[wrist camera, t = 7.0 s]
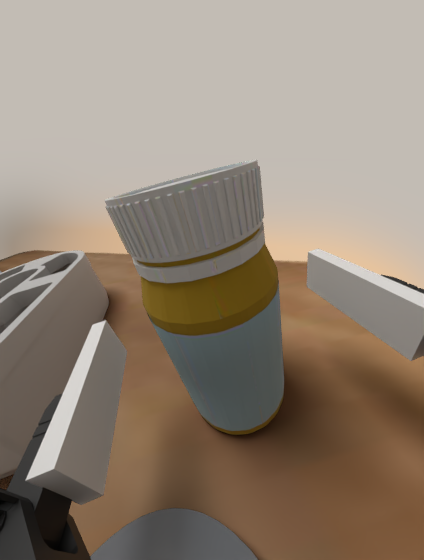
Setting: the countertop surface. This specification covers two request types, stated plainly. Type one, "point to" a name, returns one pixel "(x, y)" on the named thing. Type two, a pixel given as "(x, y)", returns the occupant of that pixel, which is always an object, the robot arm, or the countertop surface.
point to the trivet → (174, 539)
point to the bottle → (210, 289)
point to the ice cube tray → (41, 340)
